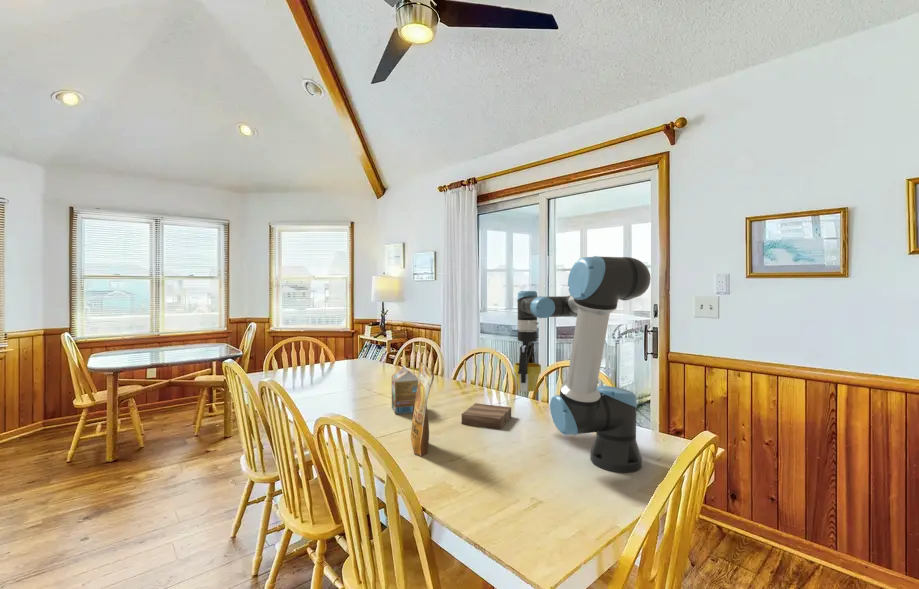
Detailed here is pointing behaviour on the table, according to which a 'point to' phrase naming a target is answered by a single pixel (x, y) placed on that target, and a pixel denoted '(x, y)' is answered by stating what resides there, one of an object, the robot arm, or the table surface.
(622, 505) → the table surface
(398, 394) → the milk carton
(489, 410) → the block
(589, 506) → the table surface
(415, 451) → the pancake mix bag
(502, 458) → the table surface
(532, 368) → the plant pot
